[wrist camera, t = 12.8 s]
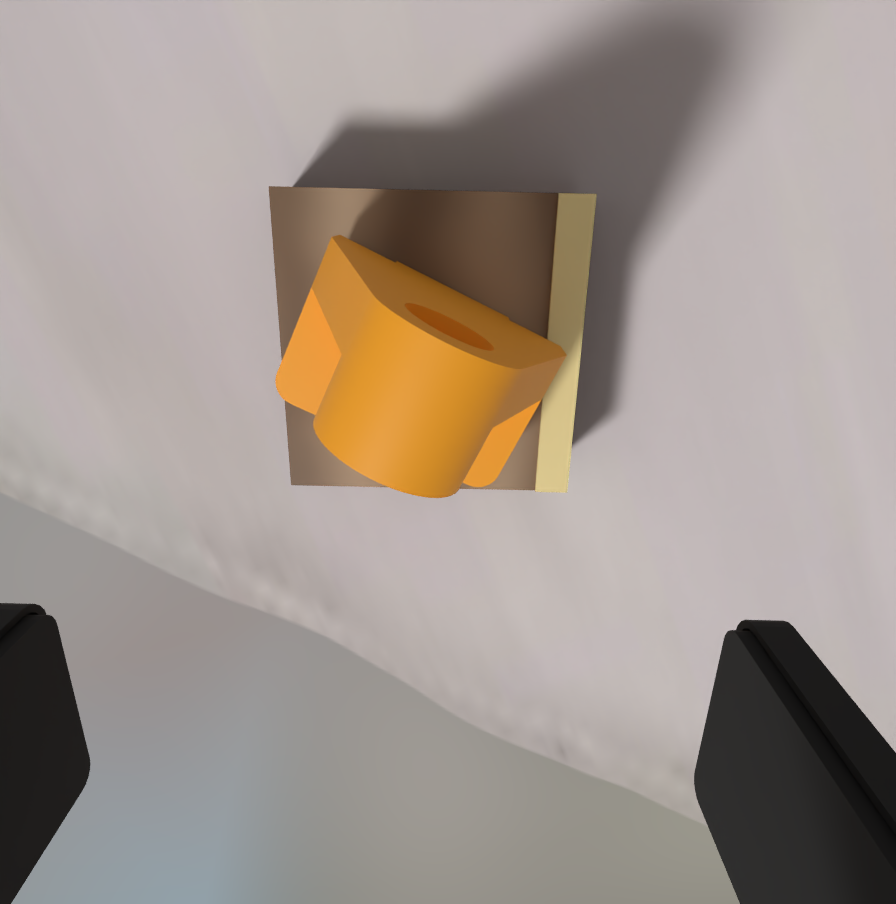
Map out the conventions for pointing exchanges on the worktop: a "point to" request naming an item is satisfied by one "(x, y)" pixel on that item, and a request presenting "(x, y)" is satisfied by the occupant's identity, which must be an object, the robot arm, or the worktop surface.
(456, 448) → the bracket
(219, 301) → the worktop surface
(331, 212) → the dock
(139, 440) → the worktop surface
